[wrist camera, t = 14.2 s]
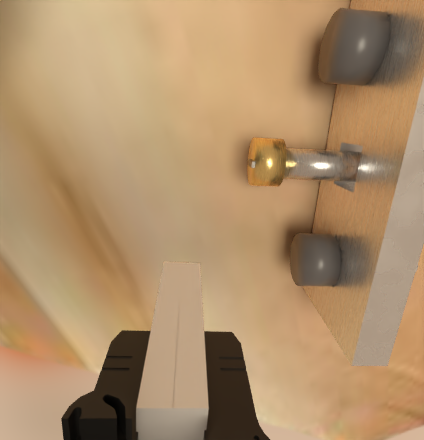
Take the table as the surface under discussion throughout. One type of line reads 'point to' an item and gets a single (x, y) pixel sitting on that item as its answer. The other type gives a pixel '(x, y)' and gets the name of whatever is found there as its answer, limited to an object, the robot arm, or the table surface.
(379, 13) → the knob near
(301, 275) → the knob far
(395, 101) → the panel
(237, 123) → the table surface
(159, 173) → the table surface
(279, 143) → the silver and brass cylinder
